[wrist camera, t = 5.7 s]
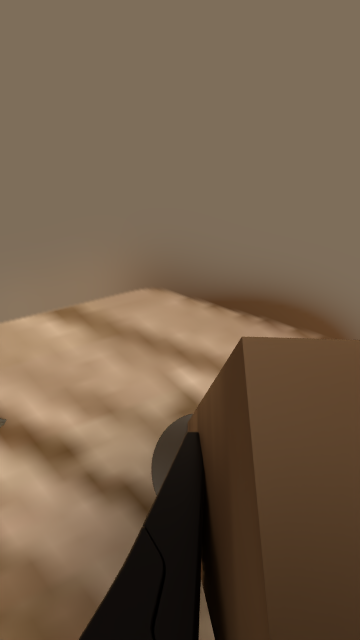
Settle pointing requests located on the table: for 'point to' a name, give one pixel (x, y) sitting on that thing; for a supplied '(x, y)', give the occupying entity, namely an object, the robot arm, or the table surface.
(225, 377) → the brown tower block
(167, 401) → the table surface
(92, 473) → the table surface
